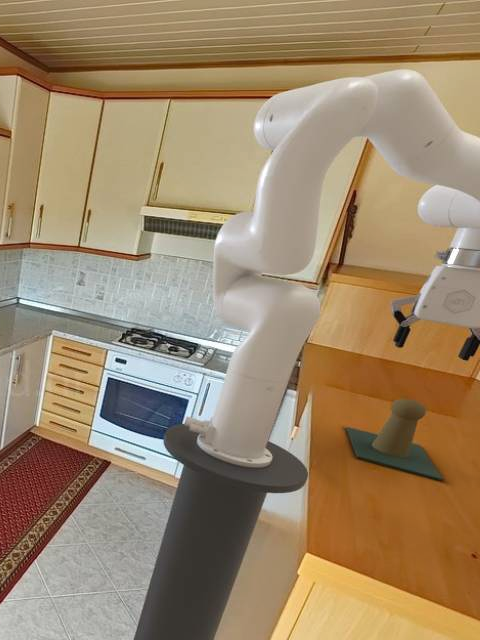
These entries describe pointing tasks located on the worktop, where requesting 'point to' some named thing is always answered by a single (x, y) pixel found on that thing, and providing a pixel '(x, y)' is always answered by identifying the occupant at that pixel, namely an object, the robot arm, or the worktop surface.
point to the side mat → (411, 464)
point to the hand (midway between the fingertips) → (429, 352)
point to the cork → (400, 428)
